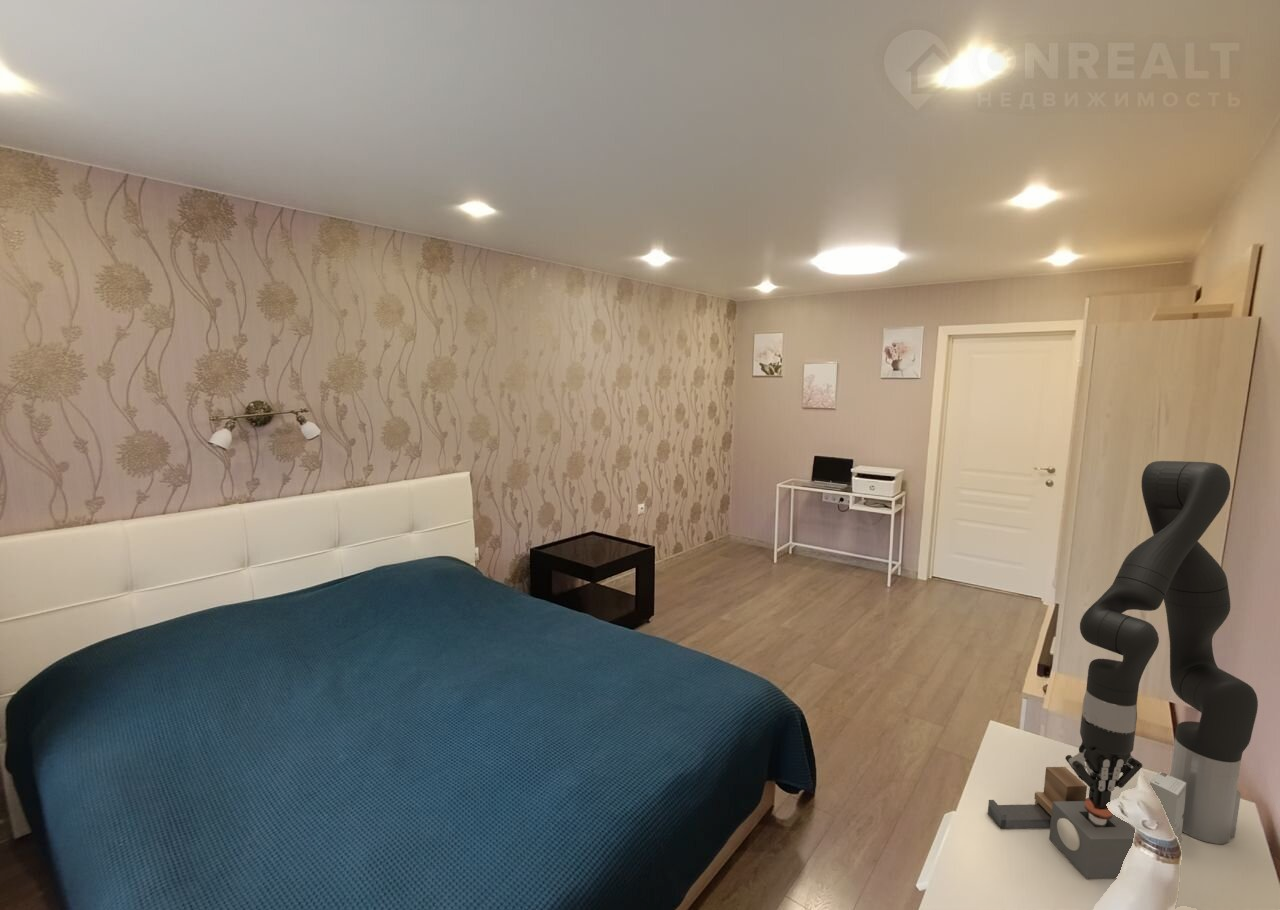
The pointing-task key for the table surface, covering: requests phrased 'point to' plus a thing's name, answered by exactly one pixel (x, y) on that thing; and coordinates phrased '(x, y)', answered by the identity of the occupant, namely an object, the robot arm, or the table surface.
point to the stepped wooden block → (1060, 788)
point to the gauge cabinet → (1090, 840)
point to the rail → (1019, 816)
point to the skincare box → (1171, 799)
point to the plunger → (1097, 814)
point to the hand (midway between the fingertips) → (1098, 805)
